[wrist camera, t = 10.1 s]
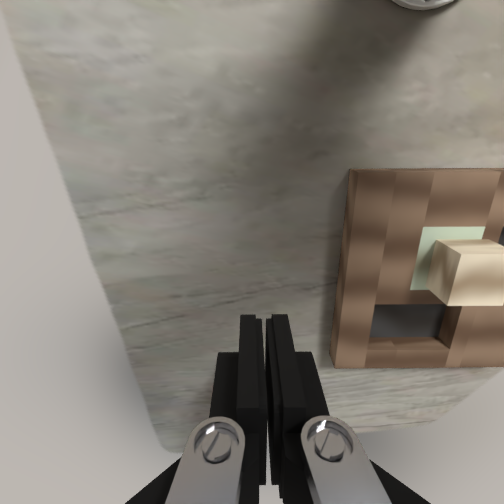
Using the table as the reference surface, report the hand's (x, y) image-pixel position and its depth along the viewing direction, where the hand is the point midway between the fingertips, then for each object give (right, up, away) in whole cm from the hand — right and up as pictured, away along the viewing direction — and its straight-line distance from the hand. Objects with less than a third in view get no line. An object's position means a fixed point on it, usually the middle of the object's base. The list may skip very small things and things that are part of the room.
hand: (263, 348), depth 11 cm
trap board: (+23, +1, +29) cm, 37 cm away
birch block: (+24, +2, +25) cm, 35 cm away
